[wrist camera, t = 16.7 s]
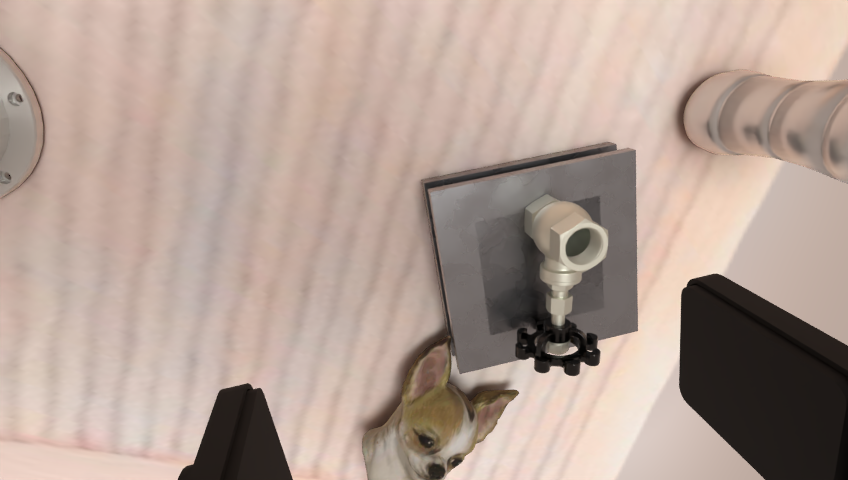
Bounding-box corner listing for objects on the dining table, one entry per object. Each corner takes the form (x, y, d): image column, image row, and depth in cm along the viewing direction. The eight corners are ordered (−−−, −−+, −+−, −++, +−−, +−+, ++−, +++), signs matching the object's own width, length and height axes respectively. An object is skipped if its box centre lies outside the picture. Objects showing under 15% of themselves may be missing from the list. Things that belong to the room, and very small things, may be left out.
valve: (503, 194, 38) (502, 335, 42) (536, 221, 32) (530, 382, 36) (586, 187, 39) (577, 325, 43) (634, 211, 32) (618, 370, 37)
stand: (450, 348, 46) (460, 374, 42) (421, 180, 40) (430, 192, 37) (614, 309, 48) (637, 330, 44) (608, 141, 42) (635, 150, 38)
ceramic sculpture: (328, 505, 39) (463, 367, 38) (325, 432, 47) (436, 316, 46) (425, 560, 43) (550, 436, 41) (406, 483, 51) (511, 378, 50)
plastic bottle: (659, 104, 42) (921, 140, 23) (727, 51, 41) (1052, 44, 22) (691, 164, 44) (952, 242, 25) (756, 115, 43) (1072, 157, 25)
